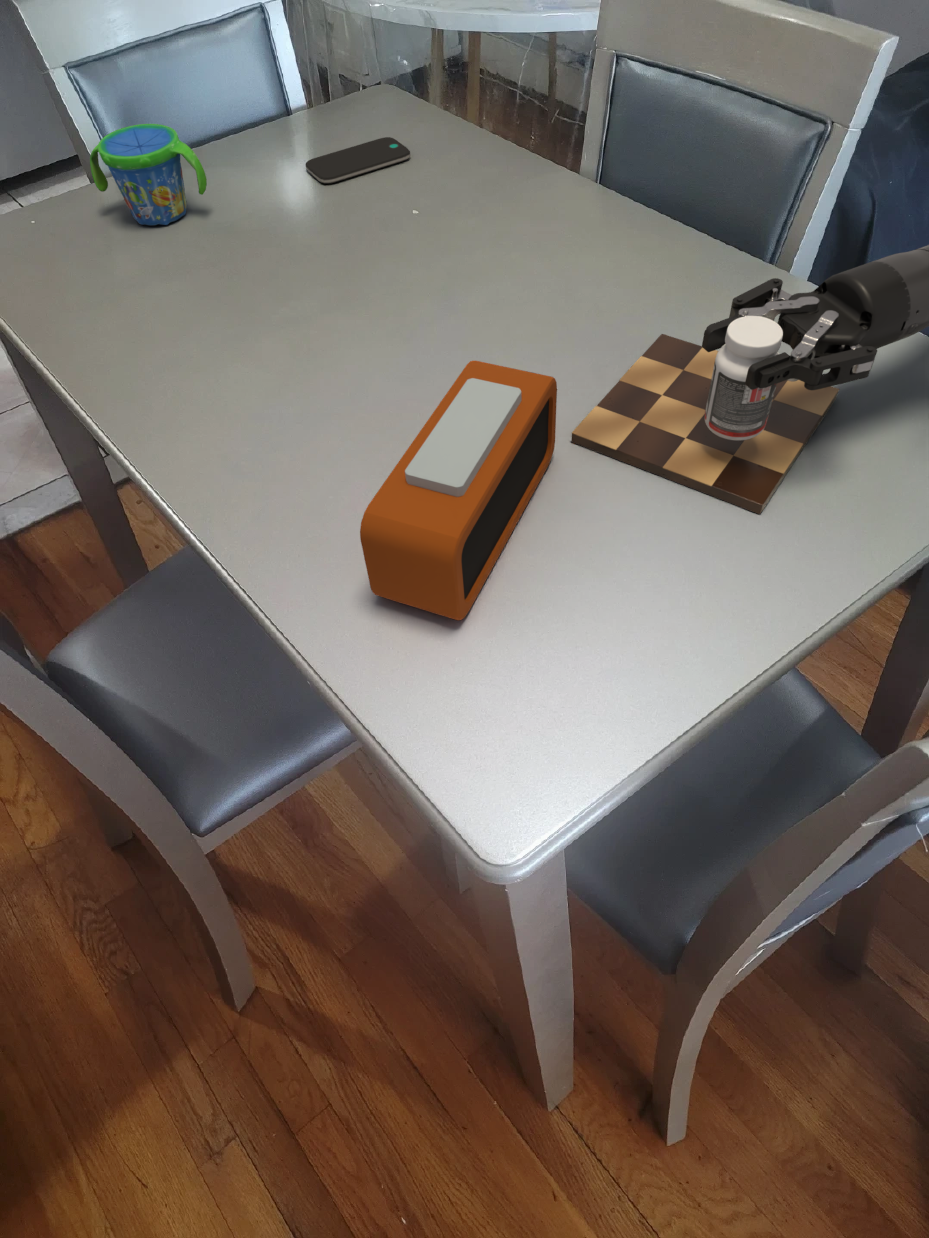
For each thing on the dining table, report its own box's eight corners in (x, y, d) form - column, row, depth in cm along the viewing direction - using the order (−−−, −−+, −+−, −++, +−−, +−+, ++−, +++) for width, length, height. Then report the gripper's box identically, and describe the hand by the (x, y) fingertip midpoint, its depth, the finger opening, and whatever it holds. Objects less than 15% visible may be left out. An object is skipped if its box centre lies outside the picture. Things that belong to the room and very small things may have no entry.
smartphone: (414, 152, 129) (322, 180, 124) (414, 158, 129) (324, 186, 125) (390, 135, 133) (301, 161, 129) (391, 140, 134) (302, 167, 129)
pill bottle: (776, 434, 81) (802, 342, 73) (721, 449, 80) (741, 357, 72) (746, 398, 84) (768, 306, 76) (693, 412, 83) (709, 320, 76)
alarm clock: (459, 631, 73) (451, 537, 64) (372, 604, 75) (352, 510, 66) (555, 454, 86) (559, 357, 78) (478, 436, 89) (474, 339, 80)
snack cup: (227, 201, 124) (207, 126, 116) (195, 238, 118) (171, 161, 110) (131, 194, 127) (105, 119, 119) (94, 229, 121) (64, 153, 113)
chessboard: (836, 398, 90) (839, 389, 89) (759, 515, 80) (762, 505, 79) (660, 342, 97) (661, 333, 96) (571, 442, 87) (571, 432, 86)
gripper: (837, 229, 80) (684, 281, 76) (955, 304, 72) (790, 366, 68) (816, 302, 86) (673, 354, 82) (923, 379, 78) (769, 440, 74)
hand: (727, 359), depth 75 cm, fingers closed on pill bottle, 5 cm apart
